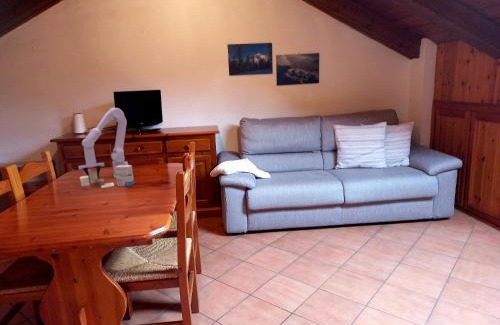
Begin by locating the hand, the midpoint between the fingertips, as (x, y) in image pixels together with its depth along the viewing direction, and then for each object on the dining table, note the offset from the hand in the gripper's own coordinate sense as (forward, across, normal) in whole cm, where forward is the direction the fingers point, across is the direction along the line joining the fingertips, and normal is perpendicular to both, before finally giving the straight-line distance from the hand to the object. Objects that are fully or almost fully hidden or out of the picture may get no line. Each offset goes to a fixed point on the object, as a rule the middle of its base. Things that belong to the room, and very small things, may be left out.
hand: (93, 178), depth 216 cm
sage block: (+2, 0, 0) cm, 2 cm away
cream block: (+2, +5, +6) cm, 8 cm away
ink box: (+2, -17, +22) cm, 28 cm away
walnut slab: (+1, -2, +13) cm, 13 cm away
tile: (+1, -7, +17) cm, 18 cm away
